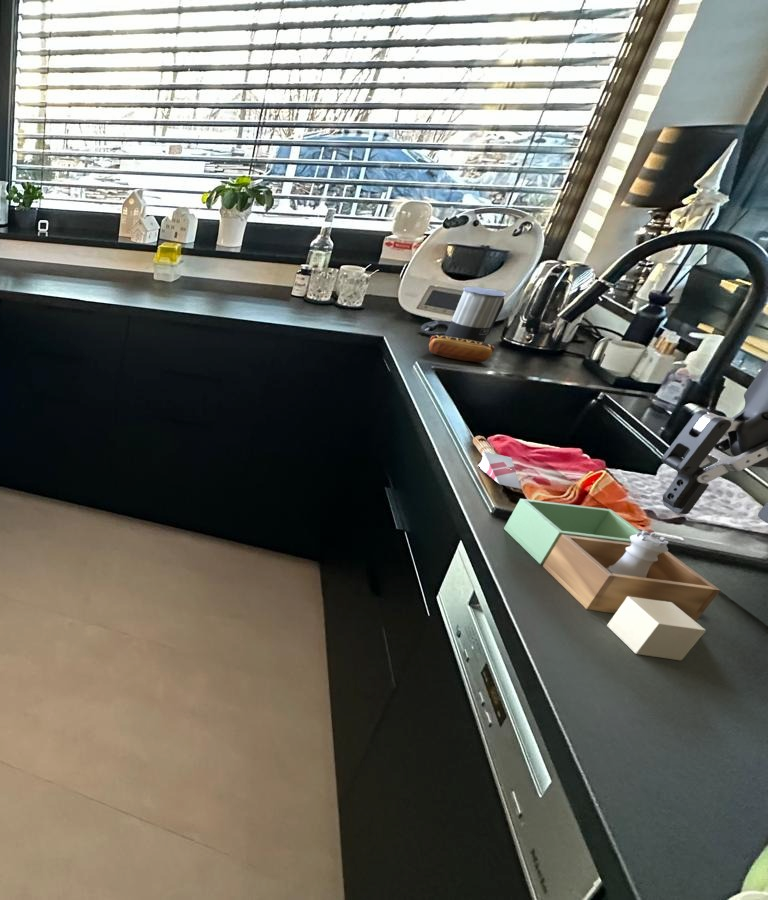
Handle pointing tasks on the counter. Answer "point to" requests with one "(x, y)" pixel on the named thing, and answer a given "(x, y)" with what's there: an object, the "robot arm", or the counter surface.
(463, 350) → the hot dog
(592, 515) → the sage bin
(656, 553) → the rook chess piece
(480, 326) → the milk frother
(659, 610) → the cream block
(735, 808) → the counter surface
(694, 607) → the oak bin
